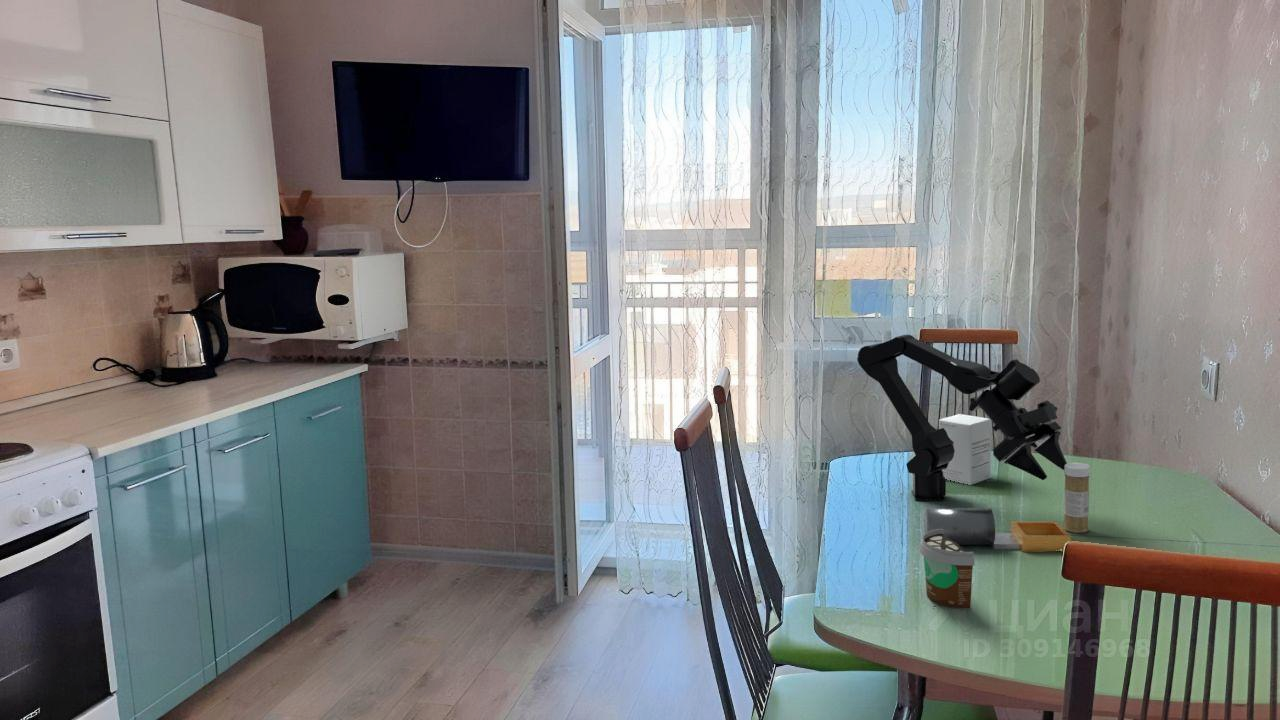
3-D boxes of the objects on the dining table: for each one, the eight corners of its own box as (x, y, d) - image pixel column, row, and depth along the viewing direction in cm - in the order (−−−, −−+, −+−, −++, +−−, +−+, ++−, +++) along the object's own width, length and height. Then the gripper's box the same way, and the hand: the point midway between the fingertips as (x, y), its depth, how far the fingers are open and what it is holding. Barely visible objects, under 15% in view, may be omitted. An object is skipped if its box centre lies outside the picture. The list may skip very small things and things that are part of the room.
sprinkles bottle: (1073, 524, 177) (1074, 460, 175) (1093, 530, 173) (1095, 465, 171) (1058, 528, 175) (1059, 464, 173) (1078, 535, 171) (1079, 469, 169)
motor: (930, 551, 167) (930, 516, 166) (923, 535, 175) (923, 502, 174) (1070, 552, 163) (1071, 516, 162) (1056, 536, 171) (1057, 501, 170)
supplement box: (937, 478, 213) (937, 419, 211) (958, 471, 219) (958, 413, 216) (970, 486, 206) (970, 424, 204) (991, 478, 211) (992, 418, 209)
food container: (907, 585, 152) (907, 530, 150) (941, 582, 152) (941, 527, 151) (937, 615, 140) (937, 556, 138) (974, 612, 140) (974, 553, 139)
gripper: (1007, 397, 171) (1063, 460, 164) (1052, 383, 183) (1106, 441, 176) (970, 430, 179) (1022, 492, 172) (1016, 415, 190) (1066, 472, 183)
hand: (1056, 473), depth 175 cm, fingers open, 9 cm apart
